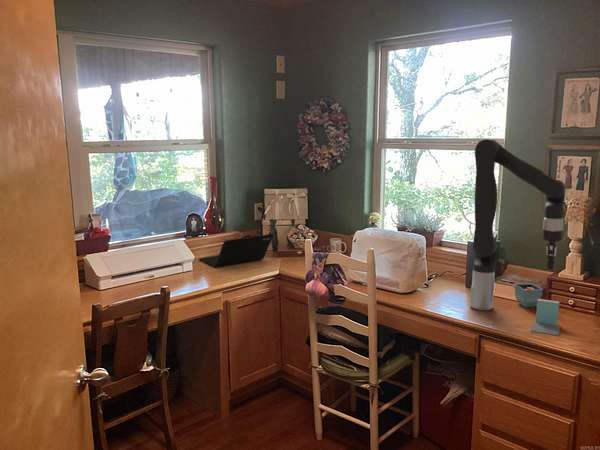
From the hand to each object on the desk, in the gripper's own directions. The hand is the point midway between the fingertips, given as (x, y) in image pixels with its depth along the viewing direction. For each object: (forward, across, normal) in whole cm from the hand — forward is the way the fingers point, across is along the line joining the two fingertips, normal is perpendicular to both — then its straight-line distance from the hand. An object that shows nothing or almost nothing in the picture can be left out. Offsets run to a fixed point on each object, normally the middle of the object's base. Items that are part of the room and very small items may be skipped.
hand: (550, 266), depth 212 cm
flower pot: (+23, -13, -9) cm, 28 cm away
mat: (+23, +14, 0) cm, 27 cm away
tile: (+23, +8, 0) cm, 24 cm away
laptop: (+18, -17, -174) cm, 175 cm away
